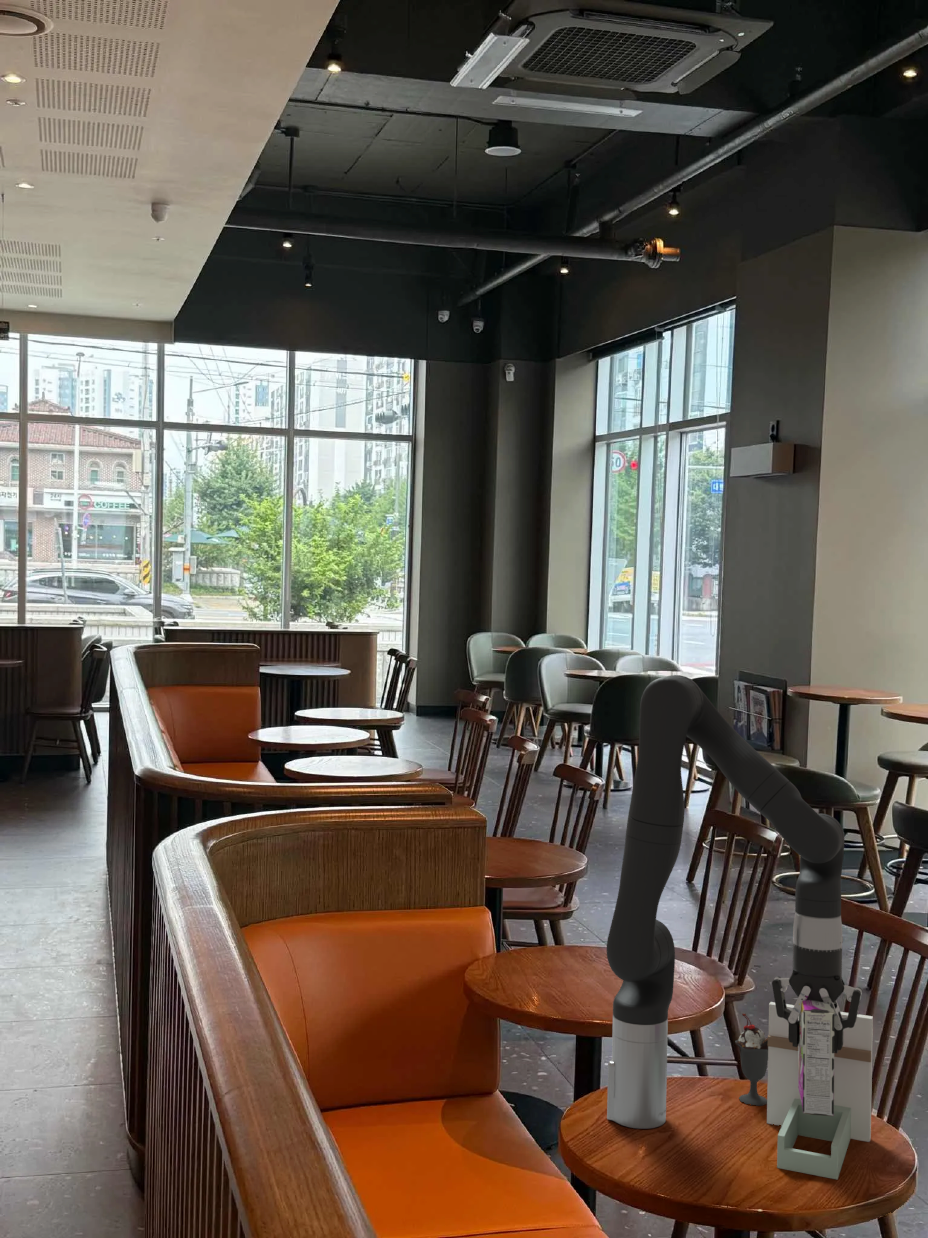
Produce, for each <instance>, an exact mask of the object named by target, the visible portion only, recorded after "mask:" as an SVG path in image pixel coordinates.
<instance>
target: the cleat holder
mask: <svg viewBox="0 0 928 1238" xmlns="http://www.w3.org/2000/svg"><path fill="white" fill-rule="evenodd" d="M794 1005H795V1004H788V1003H786V1006H787V1009H789V1010H791V1011H792V1010H793V1008H794ZM840 1012H841V1015H842V1017H843V1018H846V1017H848V1013H849V1012H845V1011H844V1012H843V1011H840ZM798 1021H799V1016H798ZM873 1025H874V1017H873V1015H872V1016H871V1015H866V1014H865V1015H864V1014H857V1019H856V1022H855V1025H854V1027H853V1028H845V1029H843V1046H842V1049H841V1050H839V1051H838V1053H834V1116H822V1115H809V1114H804V1113H803V1109H802V1104H801V1098H800V1093H799V1088H798V1047H793V1046H792V1043H791V1042H789V1039H788V1036H789V1023H788V1021H787V1020H786V1019H784V1018H780V1017H778V1015H777V1011H776V1005H775V1001H774V1002H773V1001H770V1002H769V1004H768V1035H767V1038H768V1045H767V1046H768V1063H767V1090H766V1091H767V1094H766V1095H767V1097H766V1099H767V1104H766V1124H769V1125H773V1124H774V1126H779V1125H781V1126H780V1129H779V1132H778V1134H777V1147H776V1149H777V1153H776V1154H777V1155H776V1156H777V1157H776V1160H777V1161H776V1168H777V1169H782V1170H785V1171H792V1172H798V1173H801V1174H802V1173H803V1174H807V1175H811V1176H812V1175H813V1176H817V1177H821V1178H822V1177H823V1178H828V1179H831V1180H836V1181H837V1180H839V1177H840V1173H841V1170H842V1167H843V1164H844V1160H845V1158H846V1154H847V1151H848V1150H847V1149H848V1147H849V1144H850V1142H851V1140H857V1141H861V1142H867V1143H870V1142H871V1137H872V1135H871V1134H872V1128H871V1127H872V1093H873V1091H872V1088H873V1087H872V1084H873V1083H872V1082H873V1079H872V1078H873V1033H874V1031H873V1029H874V1026H873ZM798 1136H802V1137H806V1138H812V1139H816V1140H822V1141H823V1140H824V1141H827V1142H831V1146H830V1151H831V1152H830V1153H831V1154H830V1155H829V1154H824V1153H818V1152H812V1151H810V1150H809V1151H807V1150H803V1149H796V1148H794V1145H795V1144H796V1141H797V1138H798Z"/></svg>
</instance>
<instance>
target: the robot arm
mask: <svg viewBox="0 0 928 1238" xmlns="http://www.w3.org/2000/svg"><path fill="white" fill-rule="evenodd" d="M639 704H640V705H639V732H638V733H639V734H638V735H639V736H638V754H637V755H638V756H637V761H636V769H635V773H634V777H633V785H632V791H631V798H630V803H629V809H628V815H627V822H626V829H625V841H624V849H623V857H622V863H621V870H620V871H621V872H620V878H619V879H620V880H619V887H618V893H617V898H616V904H615V908H614V912H613V916H612V918H611V919H612V920H611V923H610V928H609V932H608V936H607V940H606V959H607V963H608V965H609V967H610V969H611V971H612V972H613V973H614V975H615V976H616V977H617V978H619V979H620V980H621V981H622V984H621V986H620V988H619V990H618V991H617V994H616V995H615V996H614V998H613V1001H612V1034H611V1035H612V1038H611V1040H612V1042H611V1043H612V1046H611V1047H612V1048H611V1059H610V1060H609V1061H608V1065H607V1097H606V1098H607V1102H606V1104H607V1105H606V1108H607V1109H606V1112H607V1113H606V1119H607V1120H609V1121H613V1122H615V1123H616V1124H619V1125H621V1126H624V1127H627V1128H631V1129H632V1128H633V1129H640V1130H641V1129H654V1128H658V1127H661V1126H663V1125H664V1124H665V1123H666V1121H667V1118H666V1117H667V1086H668V1085H667V1082H668V1081H667V1079H668V1077H667V1076H668V1073H667V1072H668V1070H667V1069H668V1024H669V1008H670V1006H671V1005H670V1004H671V1003H672V999H673V995H674V984H675V983H674V982H675V981H674V980H675V967H676V966H675V963H676V951H675V941H674V939H673V936H672V933H671V931H670V929H669V928H668V927H667V926H666V925H665V924H664V923H663V922H662V921H660V920H658V919H657V913H658V908H659V903H660V899H661V897H662V894H663V891H664V889H665V887H666V885H667V882H668V880H669V878H670V876H671V874H672V872H673V870H674V867H675V865H676V862H677V860H678V856H679V854H680V850H681V845H682V837H683V830H684V823H685V812H686V811H685V793H684V786H683V779H682V761H683V760H682V759H683V755H684V754H683V753H684V748H685V744H686V743H685V742H686V739H687V738H689V739H690V740H691V741H693V742H694V743H695V744H696V745H697V746H699V747H700V748H701V749H702V750H703V751H704V752H705V754H707V755H708V756H709V758H711V760H712V761H713V762H714V763H715V764H716V766H717V767H718V769H719V770H720V771H721V773H722V774H723V775H724V777H725V778H726V780H727V781H728V782H729V783H730V785H731V786H732V787H733V788H734V789H735V790H736V792H738V793H739V795H740V796H741V797H742V798H743V799H744V800H745V801H747V803H748V804H750V805H751V806H752V807H753V808H754V809H755V810H756V811H757V812H758V813H759V814H760V815H762V816H763V817H764V818H765V819H767V820H768V821H769V823H771V825H772V826H773V828H774V829H775V830H776V832H778V833H779V835H780V836H781V837H782V839H784V841H785V842H786V843H787V844H788V846H789V847H790V848H791V849H792V850H793V851H794V852H795V853H797V854H798V855H799V874H798V878H797V880H796V885H795V892H794V894H795V896H794V899H795V900H794V902H795V903H794V904H795V905H794V908H795V909H794V910H795V911H794V919H793V925H792V926H793V928H792V972H791V975H790V977H781V976H779V975H776V976H775V977H774V979H773V980H772V981H771V985H772V992H773V998H774V999H773V1000H774V1002H775V1005H776V1011H777V1015H778V1017H780V1018H784V1019H786V1020H787V1021H788V1023H789V1036H788V1039H789V1042H791V1043H792V1046H793V1047H798V1045H799V1021H798V1016H799V1014H800V1012H801V1003H802V1001H806V1000H812V1001H819V1002H824V1004H830V1005H832V1006H833V1008H834V1012H835V1014H834V1053H838V1051H839V1050H841V1049H842V1046H843V1029H845V1028H853V1027H854V1025H855V1022H856V1019H857V1014H858V1013H859V1009H860V1003H861V1000H862V995H863V989H862V988H861V987H860V986H856V987H853V986H850V985H846V984H845V982H844V980H843V943H844V936H843V923H842V886H841V884H842V883H841V882H842V881H841V879H842V872H843V866H844V865H843V863H844V856H845V855H844V854H845V834H844V833H845V832H844V830H843V826H842V825H841V823H840V822H839V821H838V820H837V819H836V818H835V817H834V816H831V815H830V814H827V813H818V812H816V810H815V809H814V808H812V807H811V806H810V804H808V803H807V802H806V801H805V800H804V799H803V797H802V795H801V792H800V791H799V790H798V788H797V787H796V785H794V784H793V783H792V782H791V781H790V780H789V779H788V778H787V777H786V776H785V775H784V774H782V773H781V772H780V771H779V770H778V769H777V768H776V767H775V766H774V765H773V764H772V763H770V762H769V761H768V760H767V759H766V758H765V757H764V756H763V755H761V754H760V753H759V752H758V751H757V750H756V749H755V748H754V747H753V746H752V745H751V744H750V743H748V742H747V741H746V740H745V738H743V736H741V735H740V734H739V733H738V732H737V730H736V729H734V727H732V726H731V724H730V723H729V722H728V721H727V720H726V719H725V718H724V716H723V715H722V714H721V713H720V711H718V709H717V708H716V707H715V706H714V704H713V703H712V702H711V700H710V699H709V698H708V697H707V695H706V694H705V693H704V692H703V690H702V689H701V688H700V687H699V685H698V684H697V683H696V682H695V681H694V680H692V679H691V678H689V677H688V676H685V675H682V674H681V675H679V674H673V675H666V676H662V677H659V678H656V679H654V680H652V681H651V682H650V683H648V685H647V686H646V687H645V688H644V691H643V692H642V694H641V698H640V703H639ZM788 986H790V987H791V989H792V990H793V993H795V995H796V997H797V999H796V1001H795V1004H793V1005H794V1008H793V1010H792V1011H791V1010H789V1009H787V1006H786V1004H787V1001H786V995H785V993H786V992H787V989H788ZM843 993H844V994H845V995H846V1000H847V1001H848V1002H850V1005H849V1009H848V1012H847V1013H848V1017H846V1018H843V1017H842V1015H841V1012H842V1011H841V1010H840V1006H839V1003H838V1001H837V1000H838V998H839V997H840V996H841V995H842V994H843Z"/></svg>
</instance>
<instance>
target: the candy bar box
mask: <svg viewBox="0 0 928 1238" xmlns="http://www.w3.org/2000/svg"><path fill="white" fill-rule="evenodd" d="M834 1014H835V1012H834V1008H833V1006H832V1005H830V1004H824V1002H819V1001H812V1000H806V1001H802V1003H801V1012H800V1014H799V1045H798V1088H799V1093H800V1098H801V1104H802V1109H803V1113H804V1114H809V1115H822V1116H834Z"/></svg>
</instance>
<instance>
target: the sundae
mask: <svg viewBox="0 0 928 1238" xmlns="http://www.w3.org/2000/svg"><path fill="white" fill-rule="evenodd" d="M741 1014H742V1016H743V1017H744V1018H745V1019H746V1025H744V1026H743V1032H741V1033H740V1035H739V1037H738V1039H737V1040H735V1042H734V1043H735V1045H736V1046H737V1047H738V1049H739V1055H740V1065H741V1071H742V1073H743V1075H744V1076H745V1078H746V1079H748V1080H749V1082H750V1083H749V1085H750V1086H749V1087H750V1088H749V1092H748V1093H746V1094H741V1095H740V1096H739V1098H738V1100H739V1099H740V1100H739V1101H740V1102H741V1103H742V1102H744V1103H745V1105H747V1104H751V1105H750V1106H752V1105H756V1106H755V1107H761V1106H765V1105H767V1097H765V1096H763V1095H759V1093H758V1082H760V1080H763V1078H764V1077H766V1073H767V1070H768V1046H767V1045H768V1037H766V1036H765V1032H764V1031H763V1030H762V1029H761V1028H759V1027H757V1026H756V1025H754V1024H752V1022H751V1020H750V1018H749V1017H748V1016H747V1014H746V1013H741ZM744 1103H743V1104H744Z"/></svg>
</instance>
